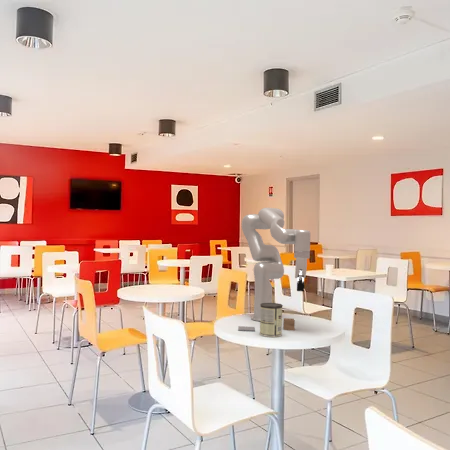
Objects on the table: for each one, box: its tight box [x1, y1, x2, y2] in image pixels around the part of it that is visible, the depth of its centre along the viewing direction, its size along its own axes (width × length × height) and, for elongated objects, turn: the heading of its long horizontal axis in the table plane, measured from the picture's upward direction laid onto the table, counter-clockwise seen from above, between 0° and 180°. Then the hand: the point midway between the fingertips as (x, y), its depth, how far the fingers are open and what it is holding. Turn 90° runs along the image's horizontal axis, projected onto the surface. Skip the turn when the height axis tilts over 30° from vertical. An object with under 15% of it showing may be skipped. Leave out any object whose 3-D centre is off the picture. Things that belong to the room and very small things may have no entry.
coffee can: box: [259, 302, 284, 338], centre depth 208 cm, size 10×10×14 cm
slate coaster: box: [238, 325, 256, 332], centre depth 218 cm, size 8×8×1 cm
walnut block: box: [282, 317, 296, 331], centre depth 222 cm, size 5×5×5 cm
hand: (300, 290), depth 219 cm, fingers open, 9 cm apart
